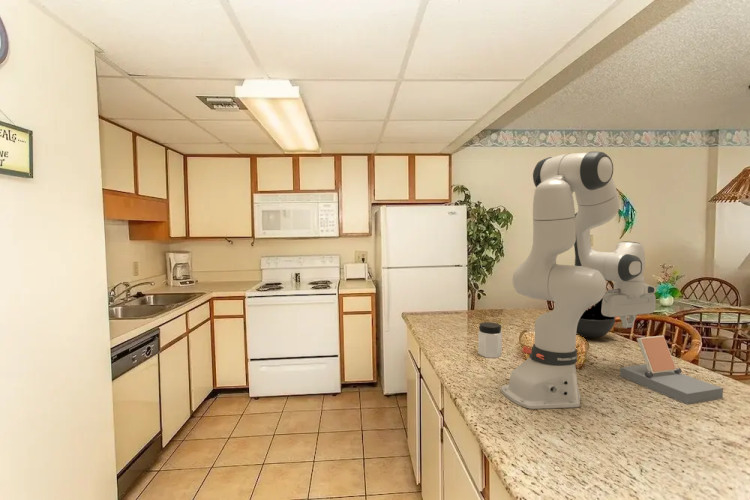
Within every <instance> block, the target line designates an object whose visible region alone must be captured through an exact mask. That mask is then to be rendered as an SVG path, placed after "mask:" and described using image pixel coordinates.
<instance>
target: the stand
mask: <svg viewBox="0 0 750 500" xmlns="http://www.w3.org/2000/svg"><path fill="white" fill-rule="evenodd" d="M619 369H620V370H619V373H620V374H619V376H620V377H621V378H623V379H625V380H626V379H627V381H628V380H629V381H631V382H633V383H635V384H638V385H640V386H643V387H646V388H647V389H650V390H652V391H654V392H657V393H660V394H661V395H664V396H666V397H669V398H670V399H673V400H676V401H678V402H680V403H682V404H685V405H690V404H696V403H697V404H698V403H702V402H709V401H714V400H715V401H716V400H720V399H723V397H724V396H723V394H724V388H723V387H720V386H718V385H715V384H712V383H709V382H707V381H703V380H700V379H698V378H695V377H692V376H689V375H686V374H684V373H682V371H683V370H682V368H680V367H676V369H677V370H674V371H666V372H659V373H652V372H649V371H648V369H647V366H646V363H643V364H639V365H630V366H623V367H620V368H619Z"/></svg>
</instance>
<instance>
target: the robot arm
mask: <svg viewBox="0 0 750 500" xmlns="http://www.w3.org/2000/svg"><path fill="white" fill-rule="evenodd" d="M613 175H614V164H613V161H612V158H611V157H610V156H609V155H608V154H606V153H605V152H603V151H597V150H595V151H594V150H592V151H588V152H578V153H577V152H575V153H570V152H569V153H565V154H564V153H563V154H560V155H556V156H553V157H552V156H549V157H546V158H543V159H541V160H539V161H538V162H537V163H536V165H535V167H534V169H533V172H532V180H533V184H534V186H535V187H536V188H535V189H534V195H533V201H532V229H533V230H532V233H533V234H532V236H533V237H532V246H531V250H530V252H529V254H528V257H527V258H526V259H525V261H524V262H523V263H521V264H520V265H519V266H518V267H517V268H516V269H515V270H514V272H513V274H512V285H513V288H514V290H515V291H516V292H517V294H519V295H522V296H525V297H528V298H530V299H535V300H536V299H537V300H543V301H550V302H554V308H553V310H551V311H547V312H544V313H541V314H540V315H539V316H538V317H537V318H536V320H535V323H534V343H533V345H532V347H531V348H530V347H528V346H526V345H525V346H523V348H522V352H523V353H524V354H526V355H529V357H528V358H527V359H526V360H524V361H523V362H522V363H521V364H520V365H518V366H517V367H515V368H514V369H513V370H512V371H511V373H510V376H509V379H508V381H509V382H508V384H504V385H502V386H501V387H500V391H501V393H502V394H503V395H504V396H505V397H506V398H507V399H509V400H510V401H512V402H513V403H514V404H517V405H518V406H520V407H524V408H527V409H530V410H537V409H538V410H540V409H541V410H542V409H562V408H567V409H568V408H579V407H581V403H580V401H581V398H582V397H581V394H580V390H579V386H578V378H577V368H576V363H578V350H577V348H576V346H577V345H576V344H577V343H576V342H577V341H576V340H577V333H576V332H577V325H578V322H579V319H580V317H581V316H582V314H583V313H584V312H585V311H586V310H588V309H590V308H591V307H593V306H595V304H596V303H598V302H599V301H600V300H601V299H602V298H603V301H602V308H601V313H602V314H603V315H604V316H608V317H615V318H616V317H619V319H620V320H621V322H622V323H621V326H622V327H623V328H624V329H628V328H629V329H630V328H634V323H635V321H636V319H637V315H645V314H653V313H654V312H655V311H656V298H657V297H656V294H655V293H656V292H657V287H656V286H653V285H650V284H648V283H645V281H646V280H645V277H644V273H645V270H646V256H645V255H646V253H645V247H644V245H643V244H642V243H641V242H636V241H629V240H628V241H619V242H617V244H616V247H615V250H614V251H612V252H610V251H597V250H594V249H593V248H592V241H591V230H592V229H594V228H597V227H600V226H603V225H605V224H607V223H608V222H610V221H611V220H613V219H614V218H615V217H616V215H617V214H618V213H619V210H620V204H621V203H620V199H619V194H618V190H617V187H616V184H615V181H614V179H613ZM573 193H574V196H575V201H576V204H577V212H575V202H574V196H573ZM573 247H574V265H572V264H571V265H569V264H568V265H567V264H557V257H558V256H559V255H561V254H563V253H566V252H567V251H569V250H571V249H572V248H573ZM606 281H612V282H613V289H612V288H611V289H608V290H607V283H606Z"/></svg>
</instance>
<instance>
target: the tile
mask: <svg viewBox="0 0 750 500" xmlns="http://www.w3.org/2000/svg"><path fill="white" fill-rule="evenodd" d="M636 341H637V343H638V347H639V348H640V352H641V355H642V357H643V359H644V362H645V363H644V364H646V366H647V369H648V371H649V372H652V373H659V372H666V371H674V370H677V369H676V368H677V367H676V363H675V361H674V358H673V356H672V354H671V351H670V349H669V346H668V343H667V341H666V339H665V335H656V336H652V335H651V336H643V337H637V338H636Z"/></svg>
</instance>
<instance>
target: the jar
mask: <svg viewBox="0 0 750 500" xmlns="http://www.w3.org/2000/svg"><path fill="white" fill-rule="evenodd" d="M478 327H479V330H478V335H477V337H478V338H477V339H478V340H477V341H478V344H477V347H478V349H477V354H478V355H480V356H482V357H483V358H488V359H498V358H499V357H501V356H502V354H503V353H502V351H503V350H502V347H503V332H502V325H501V324H499V323H496V322H489V321H488V322H485V321H484V322H480V323H479V326H478Z"/></svg>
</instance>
